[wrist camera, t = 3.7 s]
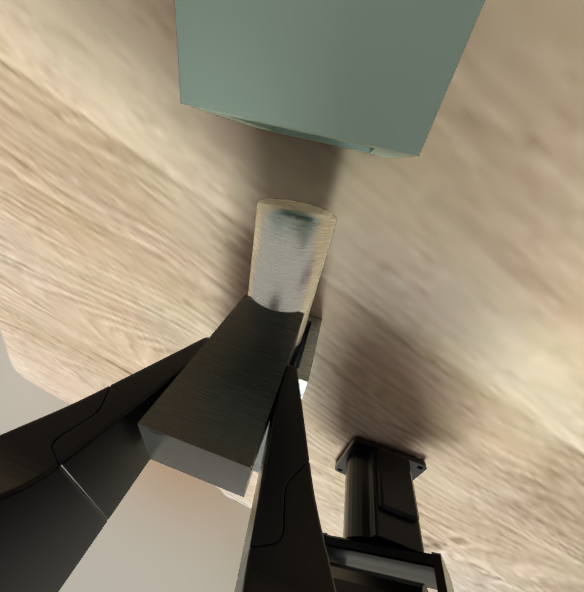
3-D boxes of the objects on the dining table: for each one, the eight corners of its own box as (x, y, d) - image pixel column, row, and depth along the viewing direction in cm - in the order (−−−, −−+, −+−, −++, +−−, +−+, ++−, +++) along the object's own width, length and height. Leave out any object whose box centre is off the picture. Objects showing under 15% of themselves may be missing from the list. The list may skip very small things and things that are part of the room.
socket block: (391, 158, 10) (418, 156, 6) (256, 128, 11) (180, 103, 6) (475, -70, 7) (714, -541, 2) (275, -93, 8) (145, -490, 3)
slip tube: (279, 414, 21) (231, 570, 13) (244, 401, 21) (177, 545, 13) (339, 212, 11) (292, 343, 3) (272, 195, 11) (75, 273, 3)
